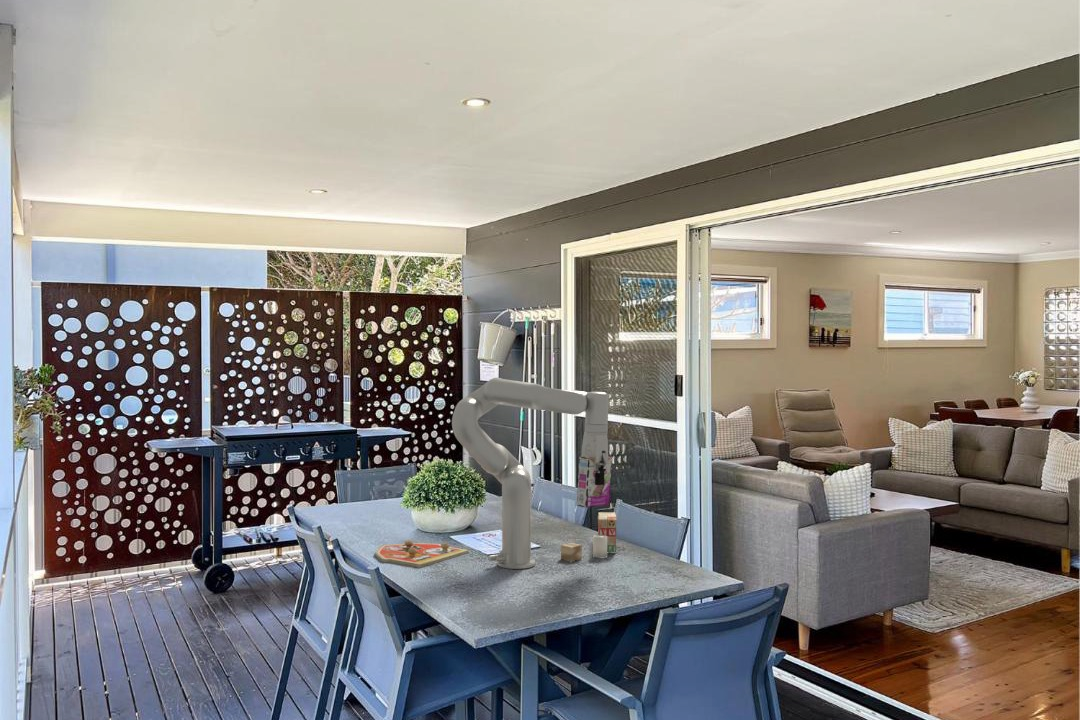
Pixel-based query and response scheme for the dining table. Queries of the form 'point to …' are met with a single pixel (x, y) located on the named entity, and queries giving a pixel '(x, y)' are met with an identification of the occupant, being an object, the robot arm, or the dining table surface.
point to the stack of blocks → (608, 529)
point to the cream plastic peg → (599, 545)
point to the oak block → (571, 551)
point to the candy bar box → (592, 484)
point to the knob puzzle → (417, 553)
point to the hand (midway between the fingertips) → (594, 482)
